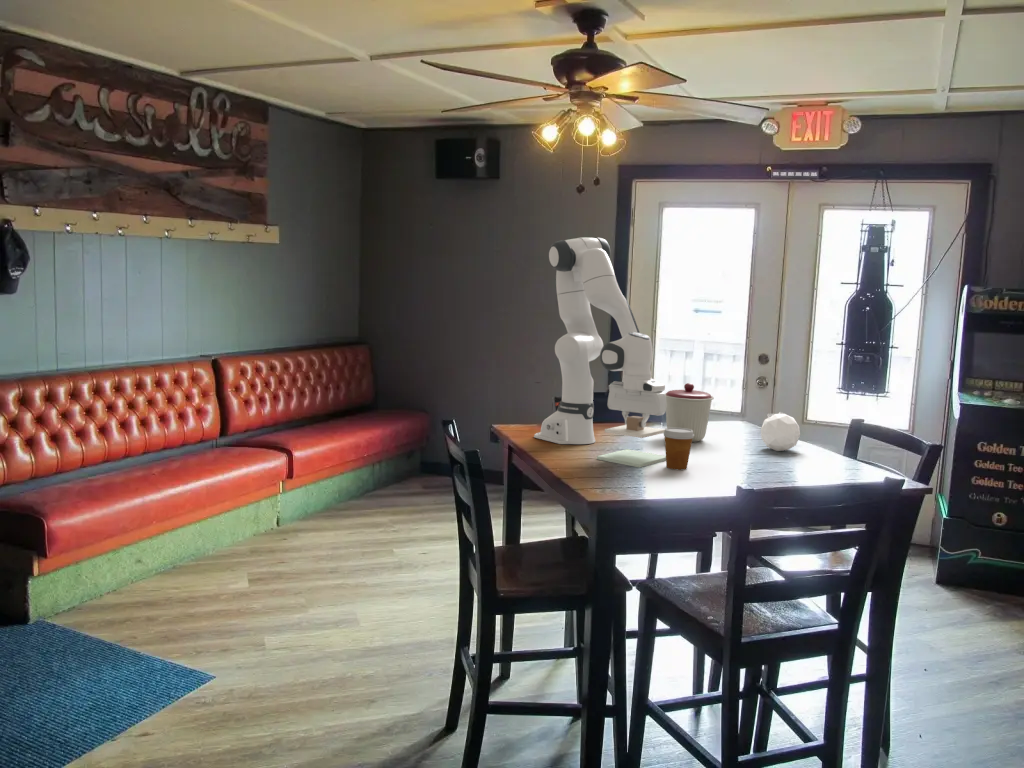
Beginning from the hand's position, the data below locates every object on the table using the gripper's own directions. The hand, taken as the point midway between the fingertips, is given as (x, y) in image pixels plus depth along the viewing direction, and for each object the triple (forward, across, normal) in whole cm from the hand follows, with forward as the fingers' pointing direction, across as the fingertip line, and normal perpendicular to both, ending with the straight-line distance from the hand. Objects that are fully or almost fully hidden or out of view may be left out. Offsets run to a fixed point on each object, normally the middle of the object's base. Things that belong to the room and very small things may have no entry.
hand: (635, 426), depth 279 cm
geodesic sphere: (+12, +25, +55) cm, 62 cm away
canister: (+11, -6, +46) cm, 48 cm away
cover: (+2, 0, 0) cm, 2 cm away
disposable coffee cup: (+11, +16, 0) cm, 19 cm away
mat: (+11, 0, 0) cm, 11 cm away
